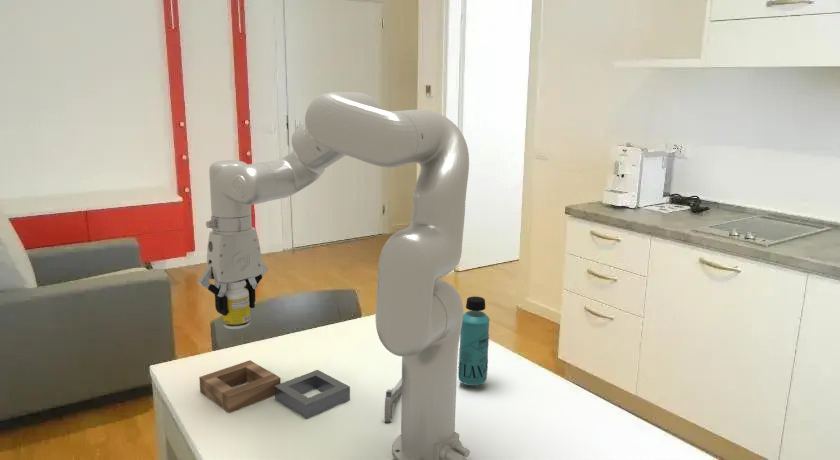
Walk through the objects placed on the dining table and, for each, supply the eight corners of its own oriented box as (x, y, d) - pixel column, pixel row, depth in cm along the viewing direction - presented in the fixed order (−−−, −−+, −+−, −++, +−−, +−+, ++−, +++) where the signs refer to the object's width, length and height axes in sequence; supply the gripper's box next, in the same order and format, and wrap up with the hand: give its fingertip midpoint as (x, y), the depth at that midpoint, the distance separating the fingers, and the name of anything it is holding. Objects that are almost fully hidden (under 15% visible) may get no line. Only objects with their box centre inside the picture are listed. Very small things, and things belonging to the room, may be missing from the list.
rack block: (281, 392, 132) (280, 377, 131) (229, 412, 123) (228, 396, 123) (250, 374, 140) (250, 360, 139) (200, 392, 132) (199, 377, 131)
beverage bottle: (452, 387, 135) (455, 300, 131) (464, 375, 141) (467, 291, 137) (480, 394, 132) (484, 305, 128) (491, 382, 138) (495, 296, 134)
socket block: (350, 399, 129) (349, 386, 129) (306, 418, 122) (306, 404, 121) (317, 382, 137) (317, 369, 136) (274, 399, 129) (274, 386, 128)
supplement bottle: (221, 322, 130) (219, 277, 127) (247, 318, 132) (246, 274, 130) (225, 331, 125) (222, 284, 123) (252, 327, 127) (250, 281, 125)
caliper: (389, 424, 121) (389, 395, 119) (384, 424, 121) (384, 394, 119) (409, 378, 140) (410, 352, 139) (404, 377, 140) (405, 351, 139)
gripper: (200, 233, 115) (205, 325, 119) (279, 220, 127) (282, 304, 131) (181, 226, 120) (187, 315, 124) (259, 215, 132) (262, 296, 136)
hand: (236, 309), depth 128 cm, fingers closed on supplement bottle, 5 cm apart
